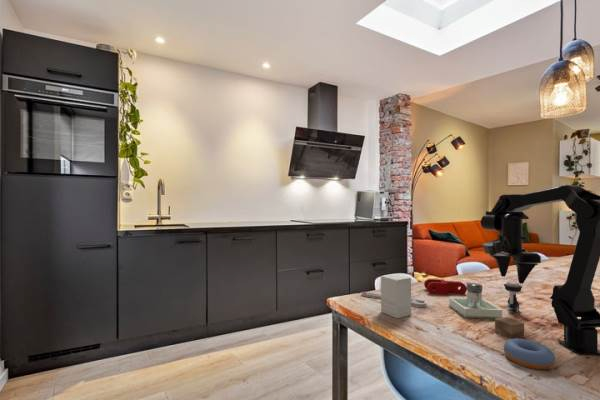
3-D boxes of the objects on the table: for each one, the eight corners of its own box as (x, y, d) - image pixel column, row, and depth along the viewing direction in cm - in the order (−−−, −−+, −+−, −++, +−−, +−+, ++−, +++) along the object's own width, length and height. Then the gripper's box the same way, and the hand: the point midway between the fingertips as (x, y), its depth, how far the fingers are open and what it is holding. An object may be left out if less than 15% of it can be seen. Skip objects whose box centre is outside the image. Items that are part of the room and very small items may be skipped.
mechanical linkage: (428, 294, 127) (428, 282, 127) (424, 289, 134) (424, 278, 134) (468, 296, 124) (468, 284, 124) (462, 291, 131) (462, 280, 131)
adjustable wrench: (360, 296, 123) (360, 292, 124) (366, 293, 129) (366, 289, 129) (424, 309, 109) (424, 304, 109) (428, 304, 114) (428, 300, 114)
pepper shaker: (481, 313, 102) (481, 287, 102) (465, 310, 105) (465, 284, 105) (483, 309, 106) (483, 284, 106) (467, 307, 109) (467, 282, 109)
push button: (518, 315, 102) (517, 286, 102) (500, 311, 106) (500, 283, 107) (524, 311, 106) (524, 283, 107) (506, 307, 111) (506, 280, 111)
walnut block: (524, 337, 86) (524, 323, 86) (511, 339, 84) (511, 325, 84) (507, 330, 91) (507, 316, 91) (495, 332, 89) (494, 318, 89)
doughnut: (547, 376, 65) (546, 354, 66) (496, 359, 73) (496, 340, 74) (561, 367, 71) (560, 346, 72) (512, 352, 79) (512, 334, 80)
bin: (502, 319, 99) (502, 309, 99) (464, 317, 100) (464, 308, 100) (482, 306, 111) (482, 298, 111) (449, 305, 112) (449, 297, 112)
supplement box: (411, 315, 102) (412, 277, 102) (396, 319, 98) (396, 280, 99) (395, 308, 108) (395, 273, 109) (380, 311, 105) (380, 275, 105)
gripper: (472, 229, 109) (472, 272, 109) (503, 234, 91) (503, 286, 90) (504, 230, 108) (504, 273, 108) (542, 235, 90) (542, 287, 90)
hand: (511, 279), depth 99 cm, fingers open, 9 cm apart
